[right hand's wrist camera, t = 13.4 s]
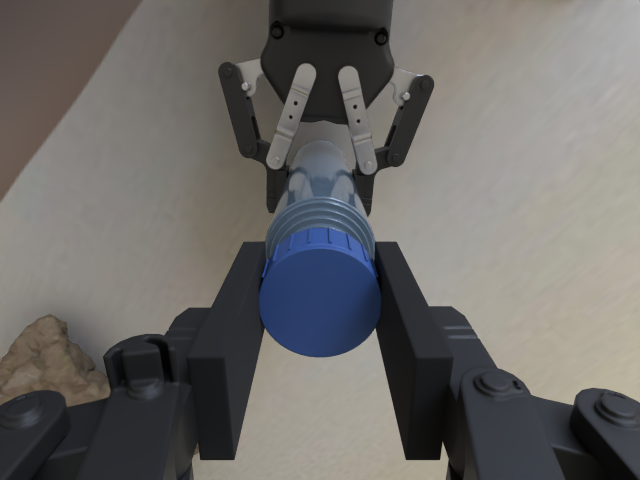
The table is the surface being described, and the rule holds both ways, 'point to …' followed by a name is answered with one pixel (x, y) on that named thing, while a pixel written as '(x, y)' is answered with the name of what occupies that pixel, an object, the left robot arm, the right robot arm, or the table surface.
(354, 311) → the cap
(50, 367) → the stone
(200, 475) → the table surface
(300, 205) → the bottle
